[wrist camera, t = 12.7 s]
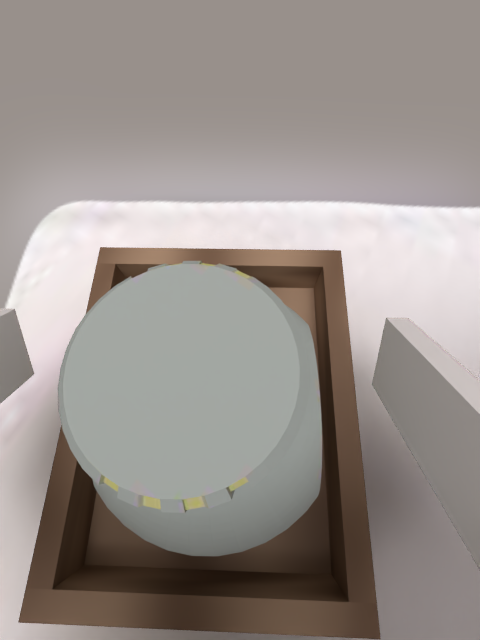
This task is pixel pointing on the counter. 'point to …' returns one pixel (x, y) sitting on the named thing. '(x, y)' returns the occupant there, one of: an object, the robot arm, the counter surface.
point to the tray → (238, 568)
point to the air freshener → (195, 408)
